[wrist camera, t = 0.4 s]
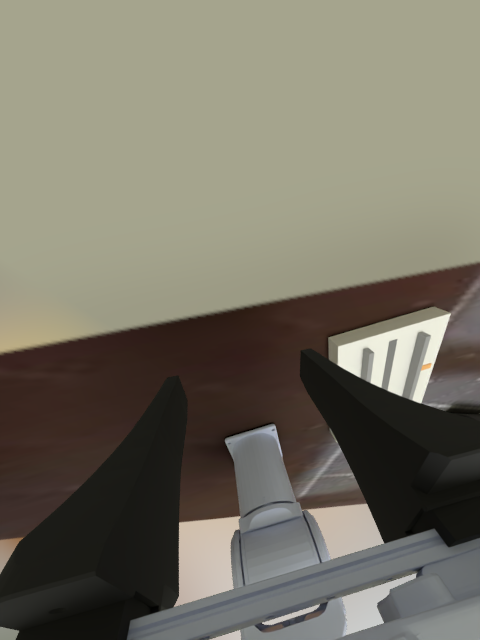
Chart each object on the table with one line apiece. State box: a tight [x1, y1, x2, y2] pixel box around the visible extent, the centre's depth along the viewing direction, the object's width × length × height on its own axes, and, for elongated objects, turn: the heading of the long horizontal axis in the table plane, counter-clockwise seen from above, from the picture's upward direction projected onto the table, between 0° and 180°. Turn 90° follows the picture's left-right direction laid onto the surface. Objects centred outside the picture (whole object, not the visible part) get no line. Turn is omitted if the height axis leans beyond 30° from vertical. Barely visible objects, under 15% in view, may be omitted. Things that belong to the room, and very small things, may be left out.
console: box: [328, 307, 451, 442], centre depth 28 cm, size 20×14×3 cm
